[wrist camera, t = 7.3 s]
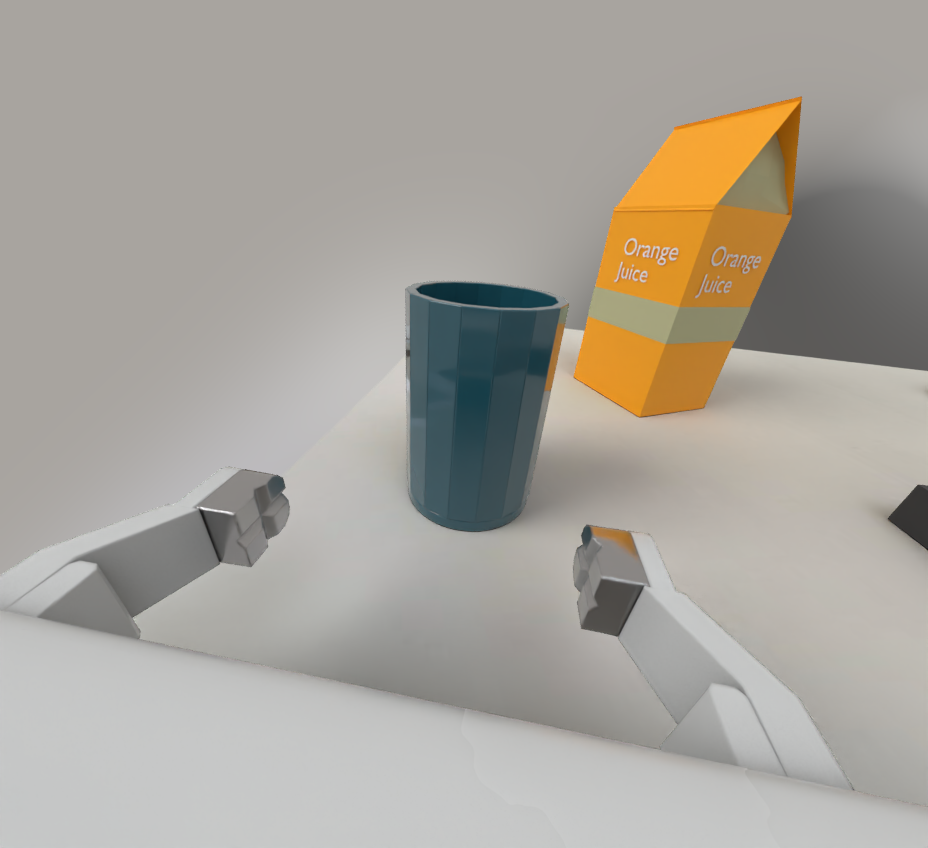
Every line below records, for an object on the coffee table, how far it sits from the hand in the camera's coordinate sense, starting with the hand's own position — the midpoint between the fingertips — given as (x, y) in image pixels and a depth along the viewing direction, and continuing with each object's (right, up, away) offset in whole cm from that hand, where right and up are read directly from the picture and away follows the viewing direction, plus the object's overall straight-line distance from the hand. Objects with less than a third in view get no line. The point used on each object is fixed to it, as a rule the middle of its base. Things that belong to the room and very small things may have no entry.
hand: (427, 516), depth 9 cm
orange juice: (+17, +5, +24) cm, 30 cm away
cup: (+1, -1, +10) cm, 10 cm away
